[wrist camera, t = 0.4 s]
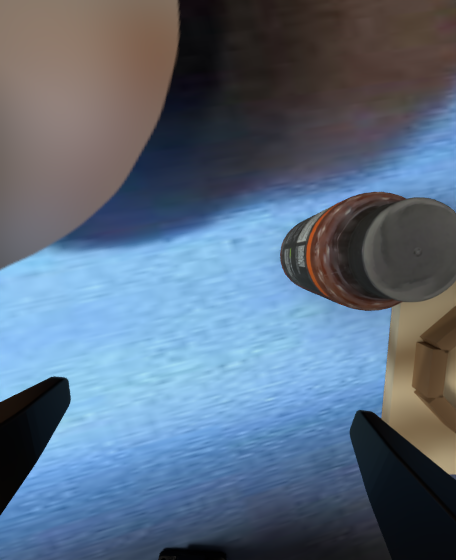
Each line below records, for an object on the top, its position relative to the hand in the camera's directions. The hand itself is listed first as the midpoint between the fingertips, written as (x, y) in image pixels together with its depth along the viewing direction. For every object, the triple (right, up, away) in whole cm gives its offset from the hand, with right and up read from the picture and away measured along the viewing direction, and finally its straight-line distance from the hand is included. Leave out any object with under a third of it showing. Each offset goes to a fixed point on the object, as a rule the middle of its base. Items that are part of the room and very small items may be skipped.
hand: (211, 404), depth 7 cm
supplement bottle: (+8, +6, +13) cm, 16 cm away
